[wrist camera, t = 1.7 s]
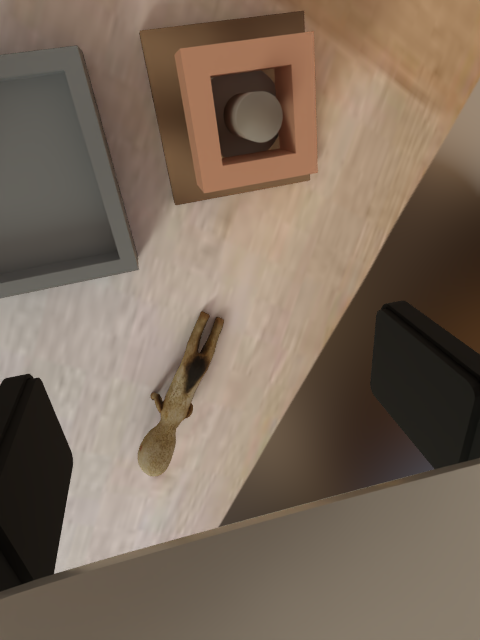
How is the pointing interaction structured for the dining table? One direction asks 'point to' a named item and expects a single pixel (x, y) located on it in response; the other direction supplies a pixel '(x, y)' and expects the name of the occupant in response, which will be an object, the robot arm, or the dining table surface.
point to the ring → (291, 91)
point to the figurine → (178, 399)
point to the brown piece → (217, 99)
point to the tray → (56, 177)
